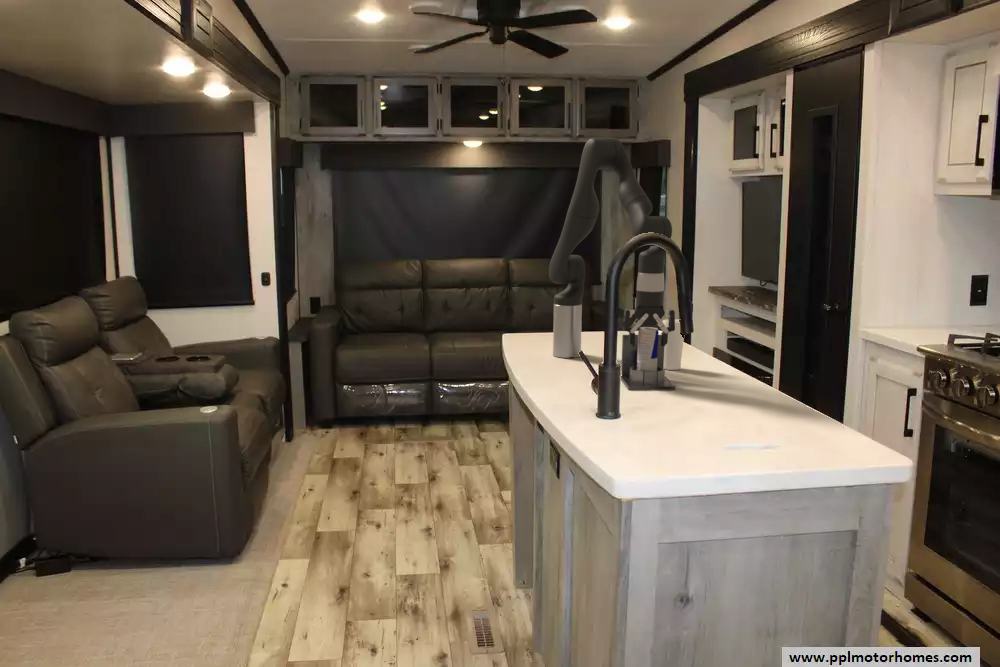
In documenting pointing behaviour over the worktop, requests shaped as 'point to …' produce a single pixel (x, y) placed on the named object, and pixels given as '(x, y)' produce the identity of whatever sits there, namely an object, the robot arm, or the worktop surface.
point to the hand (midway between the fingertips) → (647, 346)
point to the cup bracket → (642, 378)
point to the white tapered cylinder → (673, 347)
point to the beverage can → (647, 349)
